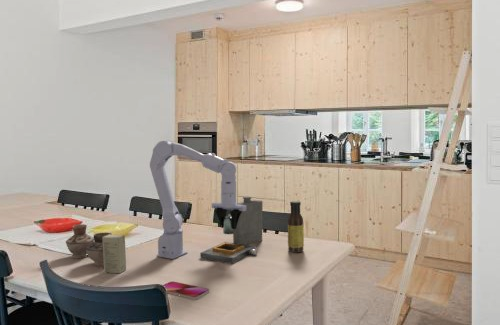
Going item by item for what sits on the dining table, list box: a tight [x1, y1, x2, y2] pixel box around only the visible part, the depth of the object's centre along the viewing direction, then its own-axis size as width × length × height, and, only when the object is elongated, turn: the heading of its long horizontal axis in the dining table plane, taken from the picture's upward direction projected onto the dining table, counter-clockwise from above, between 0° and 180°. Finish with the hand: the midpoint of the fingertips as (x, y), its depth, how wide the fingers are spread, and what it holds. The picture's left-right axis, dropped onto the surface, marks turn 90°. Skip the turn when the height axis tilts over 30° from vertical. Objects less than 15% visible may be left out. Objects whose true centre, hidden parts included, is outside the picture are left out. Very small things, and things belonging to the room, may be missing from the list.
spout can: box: [222, 214, 235, 235], centre depth 156 cm, size 4×4×7 cm
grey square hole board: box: [200, 241, 258, 264], centre depth 156 cm, size 18×17×3 cm
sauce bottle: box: [287, 200, 305, 253], centre depth 161 cm, size 6×6×20 cm
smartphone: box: [163, 281, 210, 300], centre depth 120 cm, size 7×1×15 cm
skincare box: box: [102, 234, 127, 274], centre depth 137 cm, size 6×4×12 cm
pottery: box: [65, 223, 113, 267], centre depth 149 cm, size 11×25×12 cm, turn 55°
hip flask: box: [232, 195, 263, 245], centre depth 174 cm, size 16×4×20 cm, turn 133°
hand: (228, 228), depth 156 cm, fingers closed on spout can, 4 cm apart
